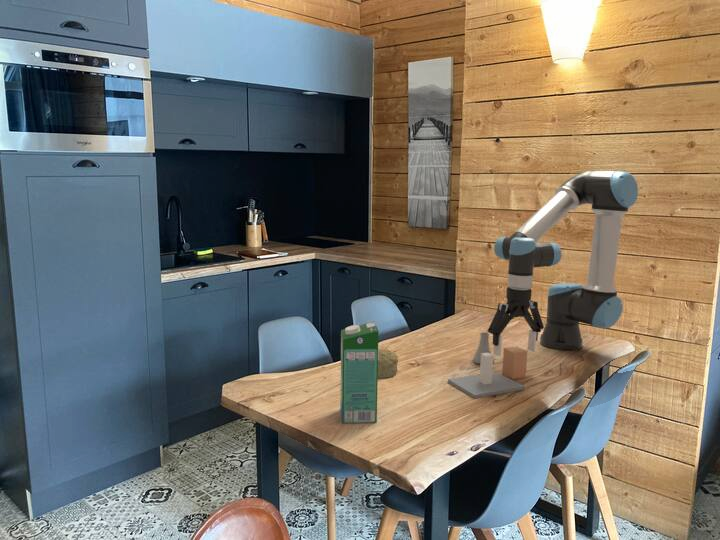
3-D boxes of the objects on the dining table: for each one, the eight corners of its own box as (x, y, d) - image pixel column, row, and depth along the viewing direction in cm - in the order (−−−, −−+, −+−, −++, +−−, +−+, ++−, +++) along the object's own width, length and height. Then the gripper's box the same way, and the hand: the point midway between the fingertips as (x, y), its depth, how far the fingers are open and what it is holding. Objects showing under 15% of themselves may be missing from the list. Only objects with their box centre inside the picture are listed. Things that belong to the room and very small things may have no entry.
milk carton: (340, 409, 167) (341, 321, 162) (373, 408, 167) (374, 320, 163) (342, 423, 158) (343, 330, 153) (376, 422, 158) (378, 330, 154)
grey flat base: (495, 374, 195) (497, 344, 194) (523, 389, 183) (526, 357, 181) (447, 382, 188) (449, 351, 186) (474, 398, 176) (476, 365, 174)
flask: (494, 365, 204) (495, 337, 202) (472, 364, 205) (473, 335, 203) (493, 359, 211) (495, 331, 209) (472, 357, 212) (474, 329, 210)
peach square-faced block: (515, 371, 198) (516, 346, 197) (525, 376, 194) (527, 351, 192) (502, 373, 196) (503, 348, 195) (512, 379, 191) (514, 352, 190)
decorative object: (399, 384, 195) (403, 354, 199) (390, 376, 187) (394, 345, 191) (372, 382, 199) (376, 353, 203) (362, 374, 190) (366, 344, 194)
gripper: (542, 283, 198) (537, 345, 202) (479, 287, 188) (475, 353, 191) (558, 287, 191) (553, 352, 195) (494, 292, 181) (489, 360, 185)
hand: (514, 352), depth 193 cm, fingers open, 13 cm apart
